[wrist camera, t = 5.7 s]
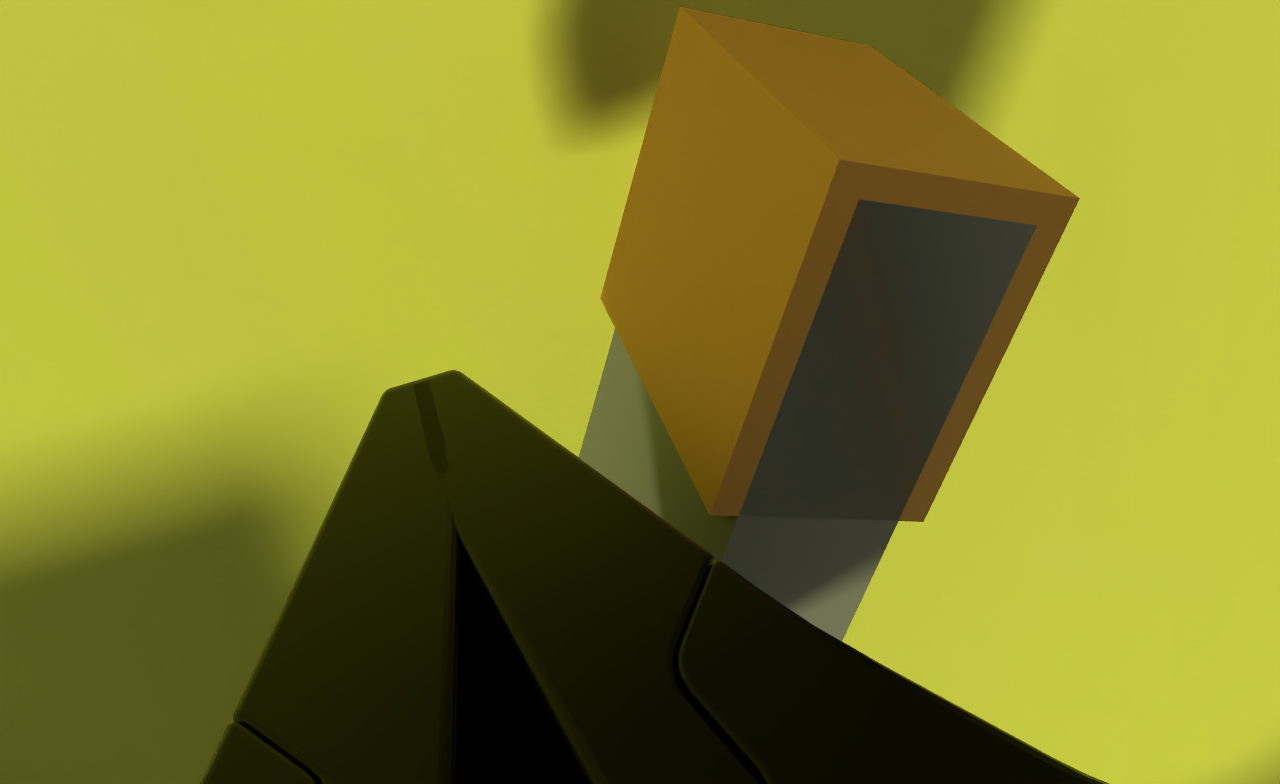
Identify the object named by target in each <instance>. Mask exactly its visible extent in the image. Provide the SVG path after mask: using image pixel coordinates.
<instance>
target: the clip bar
mask: <svg viewBox="0 0 1280 784" xmlns="http://www.w3.org/2000/svg"><path fill="white" fill-rule="evenodd" d="M1079 199H1080V198H1079V197H1077V196H1076V195H1075V194H1073V193H1072V192H1070V191H1069V190H1068V189H1066V188H1065V187H1064V186H1062V185H1061V184H1059V183H1058V182H1057V181H1055V180H1054V179H1053V178H1051V177H1050V176H1048V175H1047V174H1046V173H1044V172H1043V171H1042V170H1040V169H1039V168H1037V167H1036V166H1035V165H1033V164H1032V163H1031V162H1029V161H1028V160H1027V159H1025V158H1024V157H1022V156H1021V155H1020V154H1018V153H1017V152H1016V151H1014V150H1013V149H1011V148H1010V147H1009V146H1007V145H1006V144H1005V143H1003V142H1002V141H1000V140H999V139H998V138H996V137H995V136H994V135H992V134H991V133H989V132H988V131H987V130H985V129H984V128H983V127H981V126H980V125H978V124H977V123H976V122H974V121H973V120H972V119H970V118H969V117H967V116H966V115H965V114H963V113H962V112H961V111H959V110H958V109H956V108H955V107H954V106H952V105H951V104H950V103H948V102H947V101H946V100H944V99H943V98H941V97H940V96H939V95H937V94H936V93H935V92H933V91H932V90H930V89H929V88H928V87H926V86H925V85H924V84H922V83H921V82H919V81H918V80H917V79H915V78H914V77H913V76H911V75H910V74H908V73H907V72H906V71H904V70H903V69H902V68H900V67H899V66H897V65H896V64H895V63H893V62H892V61H891V60H889V59H888V58H886V57H885V56H884V55H882V54H881V53H880V52H878V51H877V50H876V49H874V48H873V47H871V46H869V45H864V44H859V43H854V42H850V41H845V40H840V39H835V38H830V37H825V36H821V35H816V34H811V33H806V32H801V31H796V30H791V29H787V28H782V27H777V26H772V25H767V24H762V23H757V22H753V21H748V20H743V19H738V18H733V17H728V16H723V15H719V14H714V13H709V12H704V11H699V10H694V9H690V8H685V7H679V11H678V15H677V18H676V22H675V26H674V29H673V33H672V37H671V40H670V44H669V48H668V51H667V55H666V59H665V62H664V66H663V70H662V73H661V77H660V81H659V85H658V88H657V92H656V96H655V99H654V103H653V107H652V110H651V114H650V118H649V121H648V125H647V129H646V132H645V136H644V140H643V143H642V147H641V151H640V154H639V158H638V162H637V165H636V169H635V173H634V177H633V180H632V184H631V188H630V191H629V195H628V199H627V202H626V206H625V210H624V213H623V217H622V221H621V224H620V228H619V232H618V235H617V239H616V243H615V246H614V250H613V254H612V257H611V261H610V265H609V268H608V272H607V276H606V280H605V283H604V287H603V291H602V294H601V298H600V299H601V301H602V303H603V305H604V307H605V309H606V311H607V313H608V315H609V317H610V318H611V320H612V322H613V324H614V326H615V331H614V335H613V338H612V342H611V345H610V349H609V352H608V356H607V359H606V363H605V367H604V370H603V374H602V377H601V381H600V384H599V388H598V391H597V395H596V398H595V402H594V405H593V409H592V412H591V416H590V419H589V423H588V427H587V430H586V434H585V437H584V441H583V444H582V448H581V451H580V455H579V458H580V459H581V460H583V461H584V462H585V463H587V464H588V465H589V466H591V467H592V468H594V469H595V470H596V471H598V472H599V473H600V474H602V475H603V476H605V477H606V478H607V479H609V480H610V481H611V482H613V483H614V484H616V485H617V486H618V487H620V488H621V489H622V490H624V491H625V492H627V493H628V494H629V495H631V496H632V497H633V498H635V499H636V500H638V501H639V502H640V503H642V504H643V505H644V506H646V507H647V508H649V509H650V510H651V511H653V512H654V513H655V514H657V515H658V516H660V517H661V518H662V519H664V520H665V521H666V522H668V523H669V524H671V525H672V526H673V527H675V528H676V529H677V530H679V531H680V532H682V533H683V534H684V535H686V536H687V537H688V538H690V539H691V540H693V541H694V542H695V543H697V544H698V545H700V546H701V547H702V548H704V549H705V550H706V551H708V552H709V553H711V554H712V555H713V556H714V557H715V559H716V562H717V561H721V562H724V563H725V564H726V565H728V566H729V567H731V568H732V569H733V570H735V571H736V572H737V573H739V574H740V575H741V576H743V577H744V578H745V579H747V580H748V581H750V582H751V583H752V584H754V585H755V586H756V587H758V588H759V589H761V590H762V591H764V592H765V593H767V594H768V595H770V596H771V597H772V598H774V599H775V600H777V601H778V602H780V603H781V604H783V605H784V606H786V607H787V608H789V609H790V610H792V611H793V612H795V613H796V614H798V615H799V616H801V617H802V618H804V619H805V620H807V621H808V622H810V623H811V624H813V625H814V626H816V627H818V628H820V629H821V630H823V631H825V632H826V633H828V634H830V635H832V636H833V637H835V638H837V639H838V640H840V641H842V640H843V638H844V636H845V634H846V632H847V629H848V627H849V625H850V623H851V621H852V619H853V617H854V615H855V612H856V610H857V608H858V606H859V604H860V602H861V600H862V597H863V595H864V593H865V591H866V589H867V587H868V585H869V583H870V580H871V578H872V576H873V574H874V572H875V570H876V568H877V566H878V563H879V561H880V559H881V557H882V555H883V553H884V551H885V548H886V546H887V544H888V542H889V540H890V538H891V536H892V534H893V531H894V529H895V527H896V525H897V523H898V521H917V522H923V521H924V519H925V517H926V515H927V513H928V511H929V509H930V507H931V505H932V503H933V501H934V499H935V497H936V494H937V492H938V490H939V488H940V486H941V484H942V482H943V480H944V478H945V476H946V474H947V472H948V470H949V468H950V465H951V463H952V461H953V459H954V457H955V455H956V453H957V451H958V449H959V447H960V445H961V443H962V441H963V439H964V437H965V434H966V432H967V430H968V428H969V426H970V424H971V422H972V420H973V418H974V416H975V414H976V412H977V410H978V408H979V405H980V403H981V401H982V399H983V397H984V395H985V393H986V391H987V389H988V387H989V385H990V383H991V381H992V379H993V377H994V374H995V372H996V370H997V368H998V366H999V364H1000V362H1001V360H1002V358H1003V356H1004V354H1005V352H1006V350H1007V348H1008V345H1009V343H1010V341H1011V339H1012V337H1013V335H1014V333H1015V331H1016V329H1017V327H1018V325H1019V323H1020V321H1021V319H1022V317H1023V314H1024V312H1025V310H1026V308H1027V306H1028V304H1029V302H1030V300H1031V298H1032V296H1033V294H1034V292H1035V290H1036V288H1037V285H1038V283H1039V281H1040V279H1041V277H1042V275H1043V273H1044V271H1045V269H1046V267H1047V265H1048V263H1049V261H1050V259H1051V257H1052V254H1053V252H1054V250H1055V248H1056V246H1057V244H1058V242H1059V240H1060V238H1061V236H1062V234H1063V232H1064V230H1065V228H1066V226H1067V223H1068V221H1069V219H1070V217H1071V215H1072V213H1073V211H1074V209H1075V207H1076V205H1077V203H1078V201H1079Z"/></svg>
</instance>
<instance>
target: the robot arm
mask: <svg viewBox="0 0 1280 784" xmlns="http://www.w3.org/2000/svg"><path fill="white" fill-rule="evenodd" d="M233 719H234V721H235V722H233V723H231V724H229V725H228V726H227V728H226V730H225V732H224V735H223V737H222V739H221V741H220V743H219V745H218V748H217V750H216V752H215V754H214V756H213V758H212V760H211V763H210V765H209V767H208V769H207V771H206V773H205V775H204V777H203V779H202V781H201V783H200V784H1109V783H1106V782H1104V781H1101V780H1099V779H1097V778H1094V777H1092V776H1089V775H1087V774H1085V773H1083V772H1081V771H1079V770H1077V769H1075V768H1073V767H1071V766H1069V765H1067V764H1065V763H1063V762H1061V761H1059V760H1057V759H1055V758H1053V757H1051V756H1049V755H1047V754H1045V753H1043V752H1042V751H1040V750H1038V749H1036V748H1034V747H1032V746H1031V745H1029V744H1027V743H1025V742H1023V741H1021V740H1020V739H1018V738H1016V737H1014V736H1012V735H1010V734H1009V733H1007V732H1005V731H1003V730H1001V729H999V728H998V727H996V726H994V725H992V724H990V723H988V722H987V721H985V720H983V719H981V718H979V717H977V716H975V715H974V714H972V713H970V712H968V711H966V710H964V709H963V708H961V707H959V706H957V705H955V704H953V703H952V702H950V701H948V700H946V699H944V698H942V697H941V696H939V695H937V694H935V693H933V692H931V691H930V690H928V689H926V688H924V687H922V686H920V685H919V684H917V683H915V682H913V681H911V680H909V679H907V678H906V677H904V676H902V675H900V674H898V673H896V672H895V671H893V670H891V669H889V668H887V667H885V666H884V665H882V664H880V663H878V662H877V661H875V660H873V659H871V658H870V657H868V656H866V655H864V654H863V653H861V652H859V651H857V650H856V649H854V648H852V647H851V646H849V645H847V644H845V643H844V642H842V641H840V640H838V639H837V638H835V637H833V636H832V635H830V634H828V633H826V632H825V631H823V630H821V629H820V628H818V627H816V626H814V625H813V624H811V623H810V622H808V621H807V620H805V619H804V618H802V617H801V616H799V615H798V614H796V613H795V612H793V611H792V610H790V609H789V608H787V607H786V606H784V605H783V604H781V603H780V602H778V601H777V600H775V599H774V598H772V597H771V596H770V595H768V594H767V593H765V592H764V591H762V590H761V589H759V588H758V587H756V586H755V585H754V584H752V583H751V582H750V581H748V580H747V579H745V578H744V577H743V576H741V575H740V574H739V573H737V572H736V571H735V570H733V569H732V568H731V567H729V566H728V565H726V564H725V563H724V562H721V561H717V562H716V559H715V557H714V556H713V555H712V554H711V553H709V552H708V551H706V550H705V549H704V548H702V547H701V546H700V545H698V544H697V543H695V542H694V541H693V540H691V539H690V538H688V537H687V536H686V535H684V534H683V533H682V532H680V531H679V530H677V529H676V528H675V527H673V526H672V525H671V524H669V523H668V522H666V521H665V520H664V519H662V518H661V517H660V516H658V515H657V514H655V513H654V512H653V511H651V510H650V509H649V508H647V507H646V506H644V505H643V504H642V503H640V502H639V501H638V500H636V499H635V498H633V497H632V496H631V495H629V494H628V493H627V492H625V491H624V490H622V489H621V488H620V487H618V486H617V485H616V484H614V483H613V482H611V481H610V480H609V479H607V478H606V477H605V476H603V475H602V474H600V473H599V472H598V471H596V470H595V469H594V468H592V467H591V466H589V465H588V464H587V463H585V462H584V461H583V460H581V459H580V458H578V457H577V456H576V455H574V454H573V453H571V452H570V451H569V450H567V449H566V448H565V447H563V446H562V445H560V444H559V443H558V442H556V441H555V440H554V439H552V438H551V437H549V436H548V435H547V434H545V433H544V432H543V431H541V430H540V429H538V428H537V427H536V426H534V425H533V424H532V423H530V422H529V421H527V420H526V419H525V418H523V417H522V416H521V415H519V414H518V413H516V412H515V411H514V410H512V409H511V408H510V407H508V406H507V405H505V404H504V403H503V402H501V401H500V400H499V399H497V398H496V397H494V396H493V395H492V394H490V393H489V392H488V391H486V390H485V389H483V388H482V387H481V386H479V385H478V384H477V383H475V382H474V381H472V380H471V379H470V378H468V377H467V376H465V375H464V374H463V373H461V372H460V371H456V370H450V371H447V372H443V373H440V374H437V375H433V376H430V377H427V378H423V379H420V380H417V381H413V382H410V383H407V384H403V385H400V386H396V387H393V388H390V389H388V390H386V391H385V392H384V393H383V395H382V396H381V399H380V401H379V403H378V405H377V407H376V409H375V411H374V414H373V416H372V418H371V420H370V422H369V424H368V427H367V429H366V431H365V433H364V435H363V437H362V439H361V442H360V444H359V446H358V448H357V450H356V452H355V454H354V457H353V459H352V461H351V463H350V465H349V467H348V469H347V472H346V474H345V476H344V478H343V480H342V482H341V485H340V487H339V489H338V491H337V493H336V495H335V497H334V500H333V502H332V504H331V506H330V508H329V510H328V512H327V515H326V517H325V519H324V521H323V523H322V525H321V527H320V530H319V532H318V534H317V536H316V538H315V540H314V543H313V545H312V547H311V549H310V551H309V553H308V555H307V558H306V560H305V562H304V564H303V566H302V568H301V570H300V573H299V575H298V577H297V579H296V581H295V583H294V585H293V588H292V590H291V592H290V594H289V596H288V598H287V601H286V603H285V605H284V607H283V609H282V611H281V613H280V616H279V618H278V620H277V622H276V624H275V626H274V628H273V631H272V633H271V635H270V637H269V639H268V641H267V643H266V646H265V648H264V650H263V652H262V654H261V656H260V659H259V661H258V663H257V665H256V667H255V669H254V671H253V674H252V676H251V678H250V680H249V682H248V684H247V686H246V689H245V691H244V693H243V695H242V697H241V699H240V701H239V704H238V706H237V708H236V710H235V712H234V715H233Z"/></svg>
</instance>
